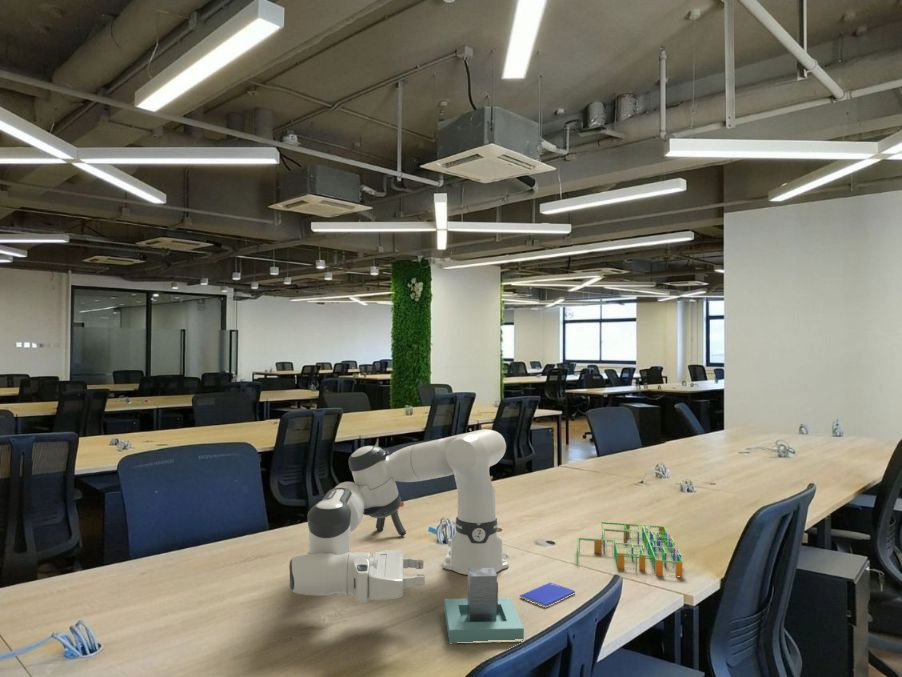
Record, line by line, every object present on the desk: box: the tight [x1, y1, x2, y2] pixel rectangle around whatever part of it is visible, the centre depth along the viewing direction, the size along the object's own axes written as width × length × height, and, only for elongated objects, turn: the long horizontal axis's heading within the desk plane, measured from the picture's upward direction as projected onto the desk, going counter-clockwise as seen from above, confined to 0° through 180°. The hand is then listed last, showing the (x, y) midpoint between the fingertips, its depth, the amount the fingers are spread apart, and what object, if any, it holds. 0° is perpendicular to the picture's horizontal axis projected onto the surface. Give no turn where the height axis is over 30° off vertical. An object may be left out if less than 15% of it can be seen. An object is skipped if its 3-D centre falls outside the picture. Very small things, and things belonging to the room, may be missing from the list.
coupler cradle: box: [443, 597, 525, 644], centre depth 138 cm, size 16×16×3 cm
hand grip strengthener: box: [375, 501, 407, 537], centre depth 206 cm, size 2×12×15 cm, turn 53°
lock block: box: [466, 568, 499, 622], centre depth 138 cm, size 5×6×11 cm
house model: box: [576, 521, 683, 578], centre depth 190 cm, size 35×30×5 cm
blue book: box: [519, 582, 576, 607], centre depth 155 cm, size 2×8×12 cm
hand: (424, 571), depth 137 cm, fingers open, 8 cm apart
